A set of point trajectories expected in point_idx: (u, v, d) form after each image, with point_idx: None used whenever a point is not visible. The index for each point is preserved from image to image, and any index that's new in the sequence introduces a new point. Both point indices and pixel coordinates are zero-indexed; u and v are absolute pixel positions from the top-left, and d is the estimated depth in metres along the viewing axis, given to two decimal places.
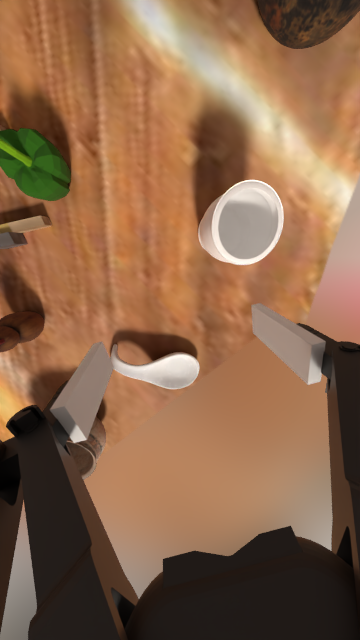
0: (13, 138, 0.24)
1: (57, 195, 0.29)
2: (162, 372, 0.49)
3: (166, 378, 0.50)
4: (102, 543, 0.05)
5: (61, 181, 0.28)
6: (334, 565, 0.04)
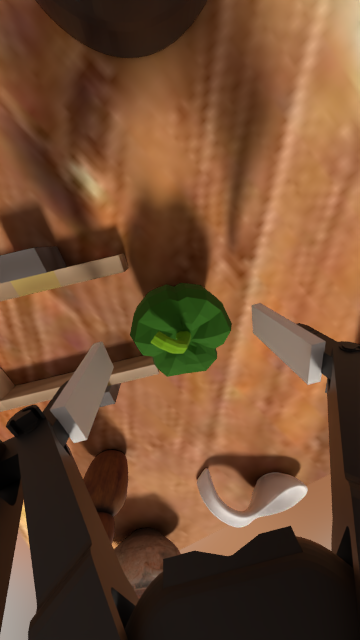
0: (172, 312, 0.13)
1: None
2: None
3: None
4: (102, 543, 0.05)
5: None
6: (334, 565, 0.04)
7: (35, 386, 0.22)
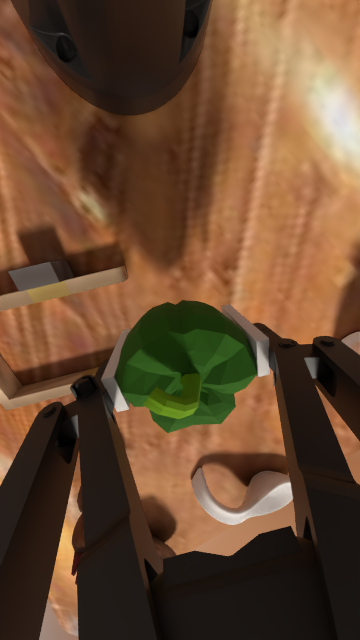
0: (175, 351, 0.09)
1: None
2: None
3: None
4: (138, 512, 0.06)
5: None
6: (301, 563, 0.04)
7: (42, 386, 0.24)
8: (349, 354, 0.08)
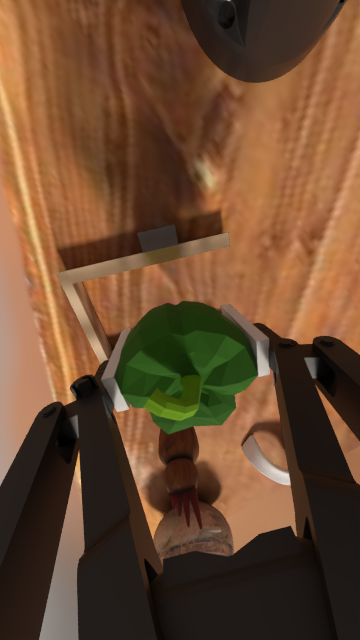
0: (176, 352, 0.09)
1: None
2: None
3: None
4: (138, 512, 0.06)
5: None
6: (301, 563, 0.04)
7: None
8: (349, 354, 0.08)
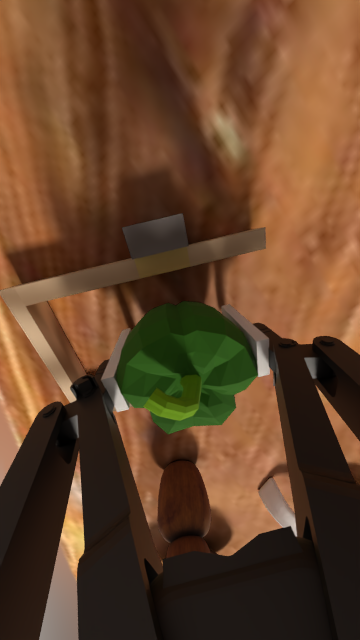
0: (176, 352, 0.09)
1: None
2: None
3: None
4: (138, 512, 0.06)
5: None
6: (301, 563, 0.04)
7: None
8: (349, 354, 0.08)
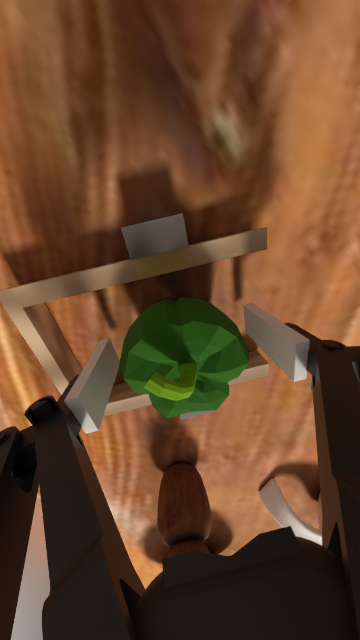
0: (174, 341, 0.10)
1: None
2: None
3: None
4: (112, 534, 0.05)
5: None
6: (325, 563, 0.04)
7: (122, 391, 0.19)
8: None
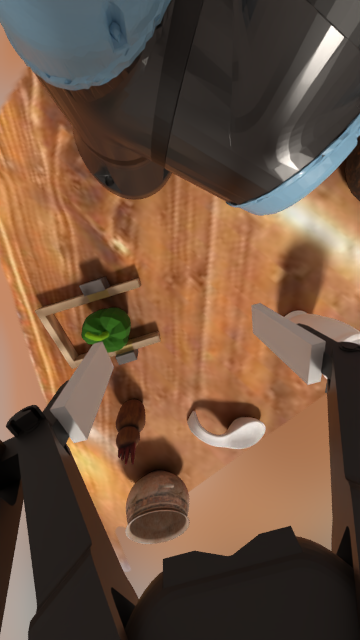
0: (97, 323, 0.31)
1: None
2: (230, 434, 0.54)
3: (233, 438, 0.55)
4: (102, 543, 0.05)
5: (126, 336, 0.35)
6: (334, 565, 0.04)
7: None
8: None
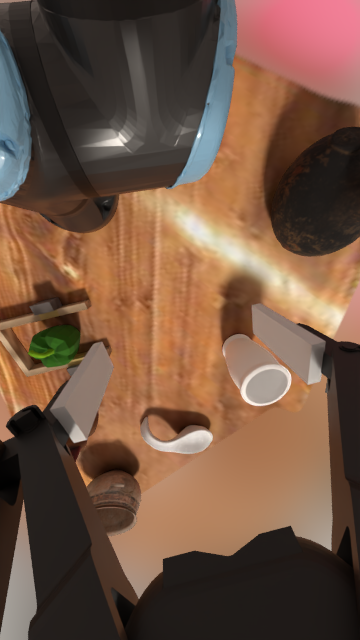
0: (42, 342, 0.35)
1: None
2: (181, 440, 0.59)
3: (183, 444, 0.59)
4: (102, 543, 0.05)
5: (74, 352, 0.39)
6: (334, 565, 0.04)
7: None
8: None
